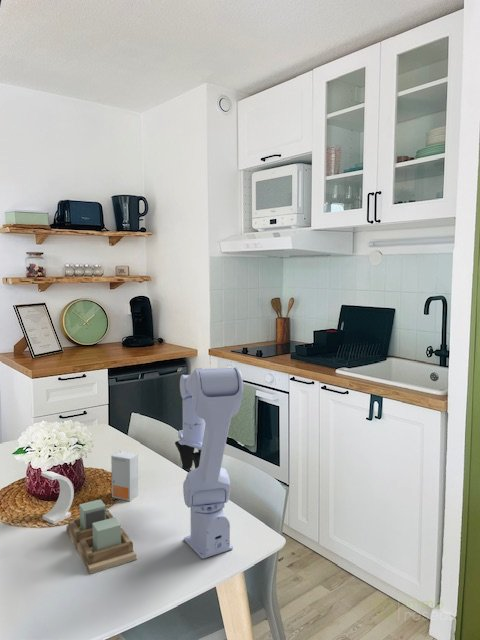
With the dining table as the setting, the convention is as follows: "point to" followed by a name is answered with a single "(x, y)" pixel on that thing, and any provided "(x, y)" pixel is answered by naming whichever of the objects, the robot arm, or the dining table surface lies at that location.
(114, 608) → the dining table surface
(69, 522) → the compartment tray
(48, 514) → the headphone stand
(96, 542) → the finger block
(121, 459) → the skincare box
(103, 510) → the seated block
